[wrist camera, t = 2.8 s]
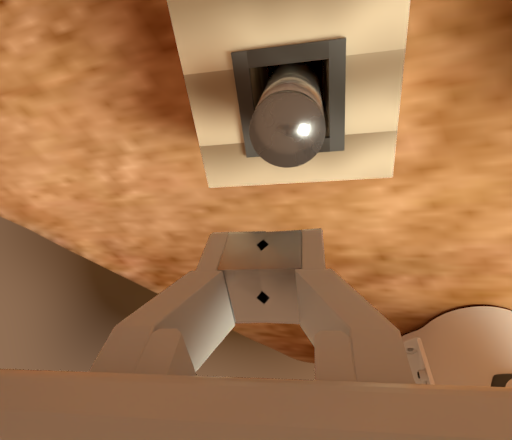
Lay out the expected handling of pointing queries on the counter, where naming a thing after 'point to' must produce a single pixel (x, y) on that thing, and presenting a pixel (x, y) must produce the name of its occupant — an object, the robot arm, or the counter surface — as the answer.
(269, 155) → the peg
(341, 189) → the counter surface
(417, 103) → the counter surface
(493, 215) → the counter surface
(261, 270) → the robot arm
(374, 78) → the socket block
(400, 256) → the counter surface
